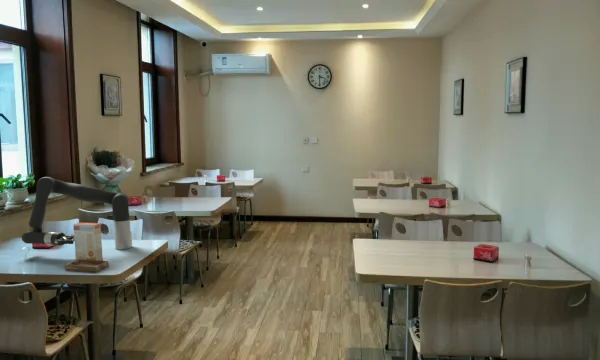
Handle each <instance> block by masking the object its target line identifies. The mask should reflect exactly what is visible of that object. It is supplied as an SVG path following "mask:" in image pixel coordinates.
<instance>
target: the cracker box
mask: <svg viewBox="0 0 600 360" xmlns="http://www.w3.org/2000/svg"><path fill="white" fill-rule="evenodd" d="M72 226H73V235H74V240H75V241H74V253H75V261H76V260H78V259H83V260H96V261H104V260H103V259H104V258H103V242H102V229H101V226H102V225H101V223H96V222H76V223H73V225H72Z"/></svg>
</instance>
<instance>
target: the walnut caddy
mask: <svg viewBox="0 0 600 360" xmlns="http://www.w3.org/2000/svg"><path fill="white" fill-rule="evenodd" d="M64 268H65V269H64V270H65V271H70V272H81V273H82V272H83V273H92V274H93V273H95V274H96V273H98V272H100V271H103V270H105V269H107V268H109V261H107V260H100V261H96V260H83V259H78V260H76V259H75V260H73V261H71V262H68V263H66V264H64Z"/></svg>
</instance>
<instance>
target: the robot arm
mask: <svg viewBox="0 0 600 360" xmlns="http://www.w3.org/2000/svg"><path fill="white" fill-rule="evenodd" d="M52 193H53V194H58V195H59V194H60V195H64V196H67V197H69V198H72V199H74V200H78V201H82V202H87V203H99V204H100V203H102V204H107V205H111V208H112V209H111V210H112V218H113V228H114V229H113V231H114V245H115V246H114V248H115V249H116V250H128V249H131V248H132V247H133V241H132V240H133V237H132V235H133V234H132V231H131V219H130V217H131V216H130V208H129V203H130V197H129V196H128V195H127V194H126V193H123V192H113V191H109V190H108V191H107V190H103V189H101V188H97V187H94V186H89V185H86V184H79V183H74V182H65V181H63V180H59V179H56V178H53V177H51V176H44V177H41V178H39V179H38V180H37V182H36V191H35V198H34V204H33V207H32V211H31V214H30V216H29V217H30V219H29V220H28V226H29V228H32V231H31V230H30V231H28V230H27V231H25V232H24V233H22V235H21V241H22V242H23V243H25V244H28V245H29V244H32V245H33V244H35V245H37V244H39V245H48V246H53V247H55V246H56V247H57V246H58V247H61V246H64V245H75V240H74V234H71V235H69V234H68V235H67V234H65V233H64V232H60V231H59V232H57V231H55V232H54V231H51V232H49V231H43V223H44V219H45V216H46V208H47V202H48V200H49V196H50V195H51V194H52Z"/></svg>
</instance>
